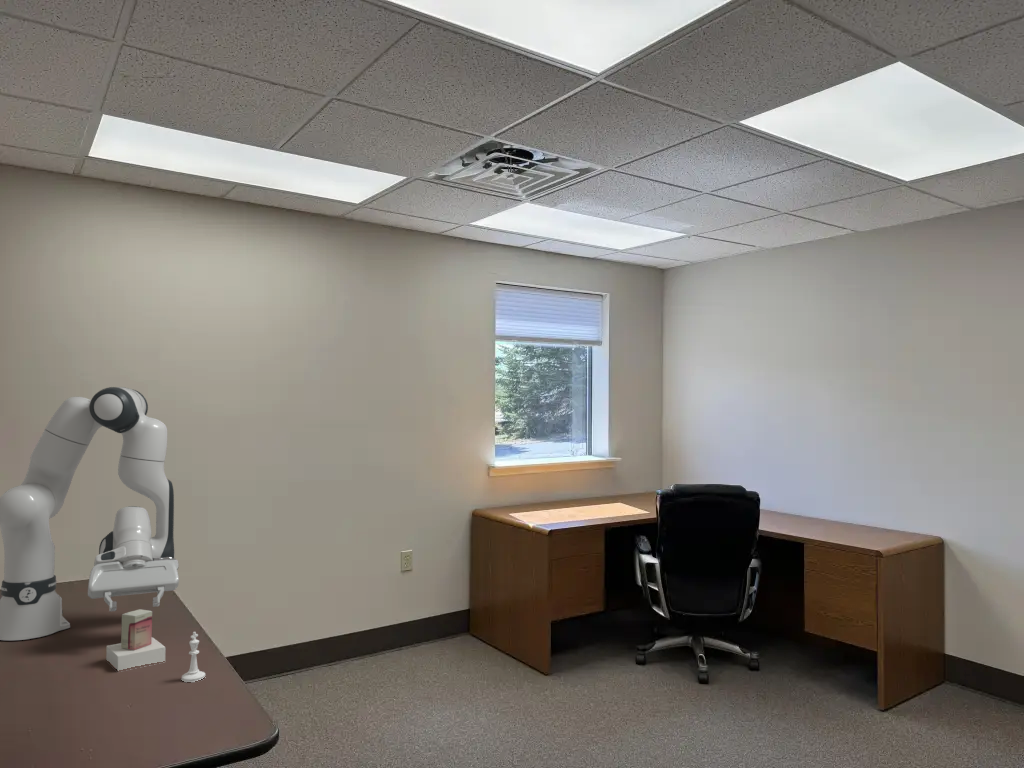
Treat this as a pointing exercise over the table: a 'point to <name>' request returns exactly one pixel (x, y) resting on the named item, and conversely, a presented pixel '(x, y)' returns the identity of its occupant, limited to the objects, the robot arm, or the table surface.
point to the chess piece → (193, 663)
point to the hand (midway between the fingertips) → (135, 607)
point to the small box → (136, 629)
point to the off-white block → (135, 655)
